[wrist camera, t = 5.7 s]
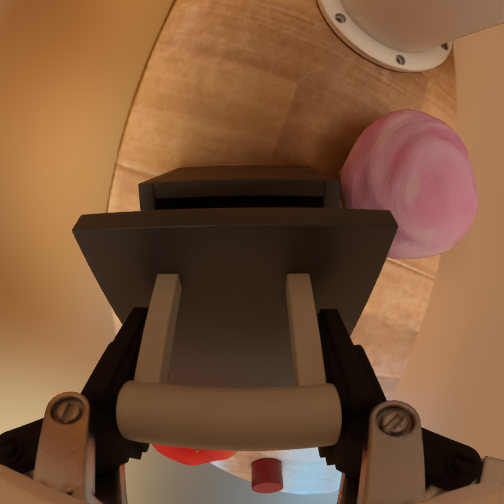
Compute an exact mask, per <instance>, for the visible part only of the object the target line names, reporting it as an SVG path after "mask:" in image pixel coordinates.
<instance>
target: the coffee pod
mask: <svg viewBox="0 0 504 504" xmlns="http://www.w3.org/2000/svg"><path fill="white" fill-rule="evenodd" d="M281 489H283V477H282V465H281V462H280V461H279V460H276V459H271V458H266V459H259V460H256V461H254V462H253V463H252V490H253V491H255V492H259V493H273V492H277V491H280V490H281Z"/></svg>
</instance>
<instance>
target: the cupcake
mask: <svg viewBox="0 0 504 504" xmlns="http://www.w3.org/2000/svg"><path fill="white" fill-rule="evenodd" d="M338 180H339V181H340V185H341V199H342V203H343V207H344V208H346V209H377V210H390V211H391V213H392V215H393V216H394V218H395V220H396V222H397V224H398V230H397V232H396V235H395V238H394V240H393V243H392V245H391V248H390V250H389V253H388V255H387V257H390V258H393V259H416V258H426V257H431V256H435V255H438V254H441V253H443V252H445V251H447V250H449V249H450V248H452V247H453V246H454V245H455V244H457V243H458V242H459V241H460V240H461V239H462V237H463V236H464V235H465V234H466V232H467V231H468V229H469V227H470V226H471V224H472V222H473V220H474V218H475V216H476V214H477V210H478V195H477V190H476V184H475V177H474V171H473V167H472V164H471V161H470V158H469V155H468V151H467V149H466V147H465V145H464V143H463V141H462V140H461V139H460V137H459V136H458V135H457V133H456V132H455V131H454V130H453V129H452V128H451V127H450V126H448V125H447V124H446V123H445V122H443V121H441V120H439V119H437V118H435V117H433V116H431V115H429V114H426V113H424V112H420V111H416V110H408V109H407V110H398V111H394V112H391V113H388V114H386V115H384V116H382V117H381V118H379V119H378V120H376V121H375V122H373V123H372V124H371V125H369V126H368V127H367V128H366V129H365V130H364V131H363V133H362V134H361V135H360V137H359V138H358V140H357V141H356V142H355V144H354V146H353V147H352V149H351V151H350V153H349V155H348V157H347V159H346V161H345V163H344V166H343V167H342V168H341V169H340V171H339V173H338Z"/></svg>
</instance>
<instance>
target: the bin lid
mask: <svg viewBox="0 0 504 504" xmlns="http://www.w3.org/2000/svg"><path fill="white" fill-rule="evenodd" d="M397 230H398V224H397V222H396V220H395V218H394V216H393V215H392V213H391V211H390V210H377V209H346V208H207V209H176V210H152V211H133V212H115V213H101V214H87V215H81V216H80V218H79V219H78V221H77V223H76V224H75V226H74V228H73V229H72V232H73V234H74V236H75V238H76V241H77V243H78V245H79V247H80V249H81V251H82V253H83V255H84V257H85V259H86V261H87V263H88V265H89V267H90V269H91V271H92V272H93V274H94V276H95V278H96V280H97V282H98V284H99V286H100V287H101V289H102V291H103V292H104V294H105V296H106V298H107V300H108V301H109V303H110V305H111V307H112V308H113V310H114V312H115V313H116V315H117V317H118V318H119V320H120V321H121V323H122V325H123V324H124V322H125V321H126V319H127V317H128V316H129V314H130V312H131V311H132V309H133V308H134V307H148V308H149V310H148V314H147V318H146V323H145V327H144V332H143V336H142V341H141V346H140V351H139V356H138V361H137V366H136V371H135V376H134V380H129V381H127V382H125V383H124V384H123V386H122V387H121V389H120V391H119V394H118V398H117V404H116V419H117V425H118V428H119V431H120V433H121V435H122V436H123V437H124V438H126V439H128V440H132V441H138V442H143V443H151V444H156V445H164V446H172V447H181V448H191V449H204V450H224V451H270V450H290V449H303V448H313V447H322V446H330V445H334V444H336V443H337V441H338V439H339V437H340V432H341V426H342V410H341V403H340V398H339V394H338V392H337V389H336V387H335V386H334V385H333V384H330V383H326V375H325V368H324V361H323V354H322V347H321V340H320V334H319V327H318V321H317V315H316V313H319V311H320V309H337V310H338V312H339V314H340V316H341V318H342V320H343V323H344V325H345V327H346V329H347V331H348V334H349V336H350V335H351V334H352V332H353V330H354V328H355V326H356V324H357V322H358V320H359V318H360V316H361V314H362V311H363V309H364V307H365V305H366V303H367V301H368V299H369V297H370V294H371V292H372V290H373V288H374V286H375V283H376V281H377V279H378V277H379V274H380V272H381V270H382V267H383V265H384V263H385V260H386V258H387V255H388V253H389V250H390V248H391V245H392V243H393V240H394V238H395V235H396V232H397ZM168 372H169V378H168ZM167 380H168V381H167Z"/></svg>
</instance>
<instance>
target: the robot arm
mask: <svg viewBox="0 0 504 504" xmlns="http://www.w3.org/2000/svg"><path fill="white" fill-rule="evenodd" d="M317 1H318V4H319V8H320V10H321V12H322V14H323V16H324V18H325V19H326V21H327V23H328V24H329V25H330V27H331V28H332V29H333V31H334V32H335V33H336V34H337V35H338V36H339V37H340V38H341V39H342V40H343V41H344V42H345V43H346V44H347V45H348V46H349V47H351V48H352V49H353V50H354V51H356V52H357V53H358V54H360V55H361V56H363V57H365V58H366V59H368V60H370V61H371V62H373V63H375V64H378V65H380V66H382V67H385V68H387V69H391V70H395V71H398V72H408V73H415V72H423V71H426V70H429V69H433V68H434V67H436V66H438V65H440V64H441V63H442V62H443V61H444V60H445V59H446V58H447V57H448V55H449V53H450V52H451V49H452V44H453V40H455V39H457V38H460V37H463V36H466V35H468V34H472V33H474V32H477V31H480V30H484V29H487V28H490V27H493V26H497V25H500V24H504V0H317ZM337 20H339V21H340V22H338V21H337ZM396 60H397V61H396ZM397 62H398V63H397ZM148 310H149V308H148V307H134V308H133V309H132V311H131V312H130V314H129V316H128V317H127V319H126V321H125V322H124V324H123V325H122V327H121V329H120V330H119V332H118V334H117V335H116V337H115V339H114V341H113V342H111V343H110V344H109V345H108V347H107V348H106V350H105V352H104V354H103V355H102V357H101V358H100V360H99V362H98V364H97V365H96V367H95V369H94V371H93V372H92V374H91V376H90V378H89V379H88V381H87V383H86V385H85V387H84V388H83V390H82V392H81V394H79V393H77V392H64V393H61V394H59V395H57V396H55V397H54V398H53V399H52V400H51V401H50V402H49V403H48V405H47V408H46V411H45V416H44V418H42V419H40V420H37V421H34V422H32V423H29V424H26V425H23V426H21V427H18V428H15V429H13V430H10V431H7V432H4V433H2V434H1V435H0V504H128V503H127V494H126V481H125V466H124V464H125V463H127V462H128V460H129V458H134V459H139V460H140V459H141V455H142V452H146V451H147V450H148V448H149V444H150V443H143V442H138V441H132V440H128V439H126V438H124V437H123V436H122V435H121V433H120V431H119V428H118V425H117V419H116V404H117V398H118V394H119V391H120V389H121V387H122V386H123V384H124V383H125V382H127V381H129V380H134V376H135V371H136V366H137V361H138V356H139V351H140V346H141V341H142V336H143V332H144V327H145V323H146V318H147V314H148ZM316 315H317V321H318V327H319V334H320V340H321V347H322V354H323V361H324V368H325V375H326V383H330V384H333V385H334V386H335V387H336V389H337V392H338V394H339V398H340V403H341V410H342V426H341V432H340V437H339V439H338V441H337V443H336V444H334V445H330V446H322V447H318V450H319V455H320V457H321V458H322V457H326V462H327V465H334V464H335V467H336V469H337V470H339V471H340V472H342V477H341V483H340V489H339V495H338V501H337V504H504V460H501V459H497V458H492V457H488V456H485V457H484V458H483V459H481V458H480V456H479V454H478V453H477V452H476V451H475V450H474V449H473V448H471V447H469V446H467V445H464V444H462V443H459V442H456V441H454V440H451V439H449V438H446V437H444V436H441V435H439V434H436V433H434V432H431V431H429V430H427V429H424V428H422V427H421V421H420V417H419V414H418V413H417V412H416V410H415V409H414V408H413V407H412V406H410V405H409V404H407V403H404V402H402V401H396V400H391V401H387V400H386V398H385V396H384V393H383V391H382V389H381V386H380V384H379V382H378V380H377V377H376V375H375V373H374V371H373V368H372V366H371V364H370V362H369V360H368V358H367V355H366V353H365V351H364V349H363V347H362V346H361V345H353V343H352V340H351V338H350V336H349V334H348V331H347V329H346V327H345V325H344V323H343V320H342V318H341V316H340V314H339V312H338V310H337V309H320V311H319V313H316ZM168 378H169V372H168ZM167 381H168V380H167Z"/></svg>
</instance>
